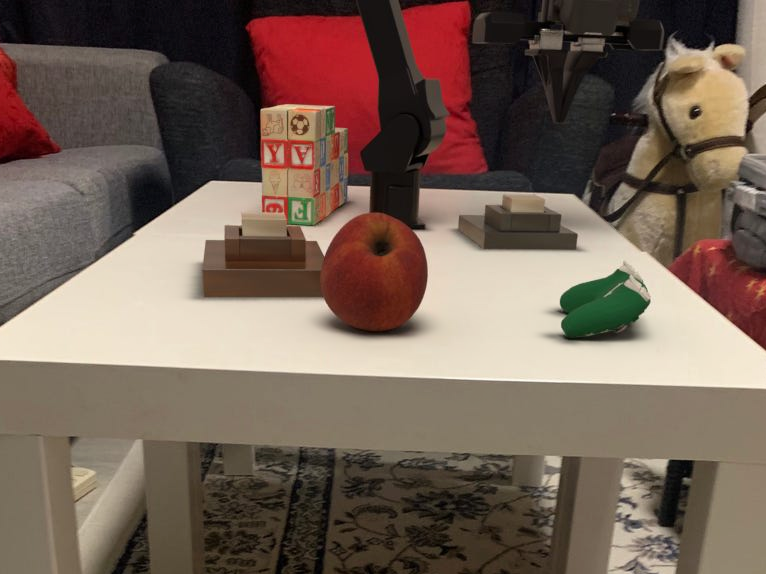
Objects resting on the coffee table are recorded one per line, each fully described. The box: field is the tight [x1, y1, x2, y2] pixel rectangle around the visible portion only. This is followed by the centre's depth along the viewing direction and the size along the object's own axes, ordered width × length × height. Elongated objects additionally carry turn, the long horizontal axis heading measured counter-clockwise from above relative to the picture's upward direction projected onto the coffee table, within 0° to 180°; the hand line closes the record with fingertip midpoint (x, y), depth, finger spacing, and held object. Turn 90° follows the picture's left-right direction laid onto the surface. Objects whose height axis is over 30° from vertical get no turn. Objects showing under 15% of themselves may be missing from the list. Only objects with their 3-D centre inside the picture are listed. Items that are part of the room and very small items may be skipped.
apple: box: [320, 212, 429, 332], centre depth 65 cm, size 7×8×8 cm
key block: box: [201, 224, 325, 298], centre depth 79 cm, size 13×10×4 cm
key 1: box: [240, 211, 288, 236], centre depth 78 cm, size 4×4×2 cm
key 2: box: [501, 193, 546, 213], centre depth 99 cm, size 4×4×2 cm
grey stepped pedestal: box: [457, 204, 579, 251], centre depth 102 cm, size 12×10×4 cm
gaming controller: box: [559, 260, 652, 339], centre depth 68 cm, size 9×4×6 cm
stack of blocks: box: [259, 103, 349, 226], centre depth 114 cm, size 21×6×12 cm, turn 172°
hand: (558, 123), depth 99 cm, fingers closed
